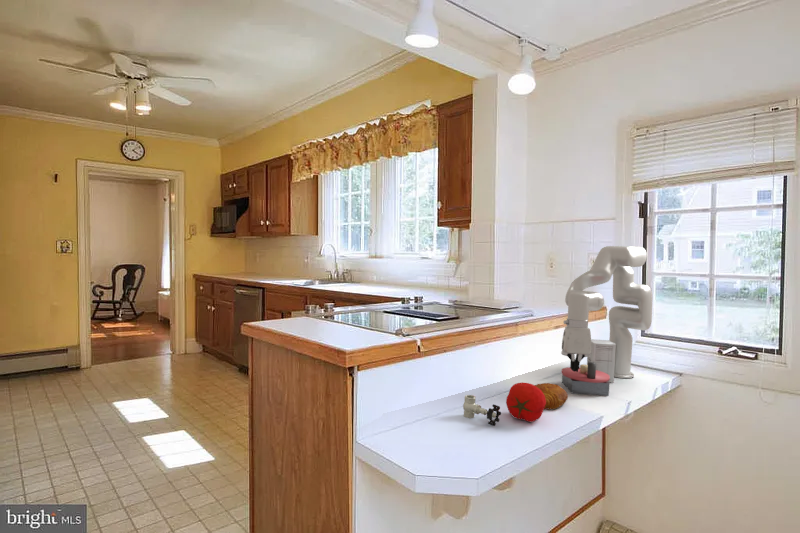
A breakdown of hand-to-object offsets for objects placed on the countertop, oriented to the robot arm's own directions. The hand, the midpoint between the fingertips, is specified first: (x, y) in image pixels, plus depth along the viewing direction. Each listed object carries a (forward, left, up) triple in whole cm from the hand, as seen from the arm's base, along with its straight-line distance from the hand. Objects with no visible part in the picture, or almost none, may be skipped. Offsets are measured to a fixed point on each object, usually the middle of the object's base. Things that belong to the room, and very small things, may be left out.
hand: (574, 370), depth 176 cm
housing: (-7, +6, -9) cm, 13 cm away
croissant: (+13, -14, -10) cm, 21 cm away
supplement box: (-24, +18, -9) cm, 32 cm away
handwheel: (-7, +6, -4) cm, 10 cm away
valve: (+35, -40, -9) cm, 54 cm away
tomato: (+31, -25, -9) cm, 41 cm away
